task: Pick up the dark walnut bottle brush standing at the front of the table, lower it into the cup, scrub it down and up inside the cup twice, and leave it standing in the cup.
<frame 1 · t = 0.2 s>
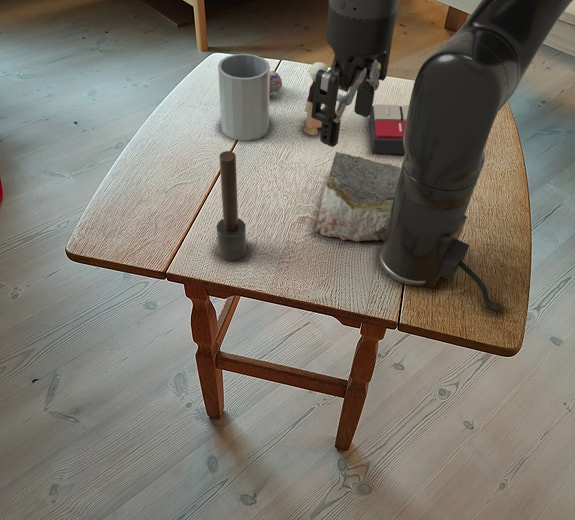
hand: (346, 128, 71), 17 cm above the table, tool pointing down, fingers open, 8 cm apart
cup: (245, 127, 101), on the table
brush: (232, 251, 79), on the table
black red box: (410, 139, 101), on the table
grandmother figurine: (314, 127, 102), on the table
geological specimen: (357, 210, 87), on the table
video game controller: (256, 96, 109), on the table
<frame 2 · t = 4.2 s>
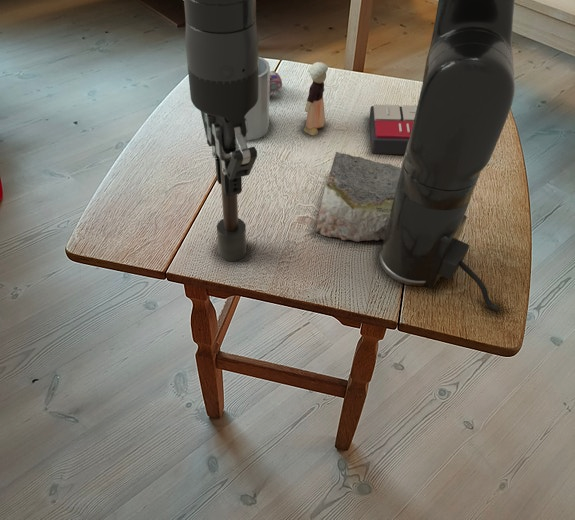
hand: (229, 186, 71), 12 cm above the table, tool pointing down, fingers closed on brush, 2 cm apart
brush: (232, 251, 79), on the table, touching gripper
everything else where it was.
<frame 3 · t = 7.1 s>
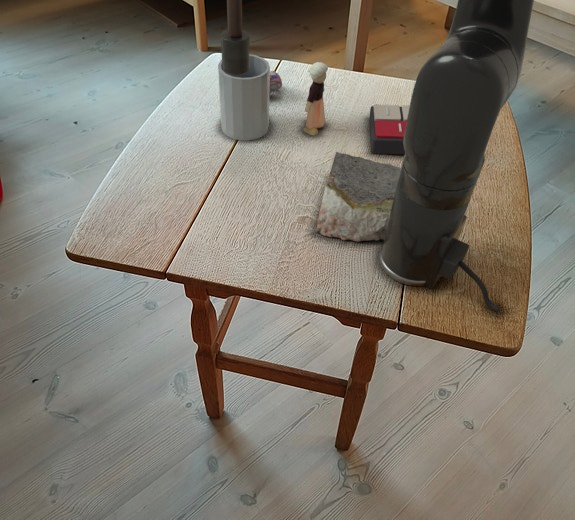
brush: (235, 67, 81), point 17 cm above the table, touching gripper
everything else where it was.
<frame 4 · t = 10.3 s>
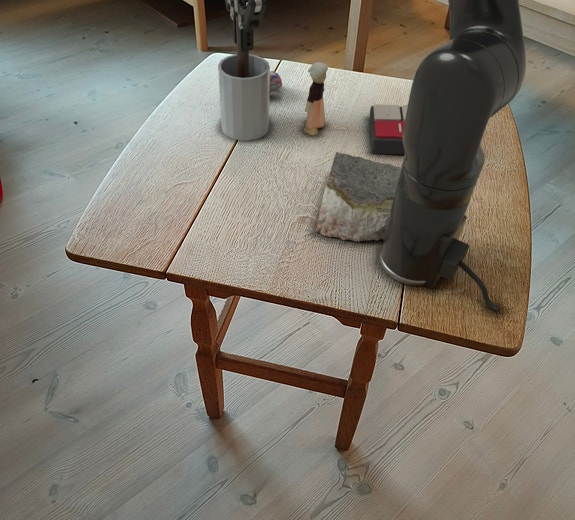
hand: (243, 45, 89), 16 cm above the table, tool pointing down, fingers closed on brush
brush: (244, 110, 98), point 3 cm above the table, touching gripper
everything else where it was.
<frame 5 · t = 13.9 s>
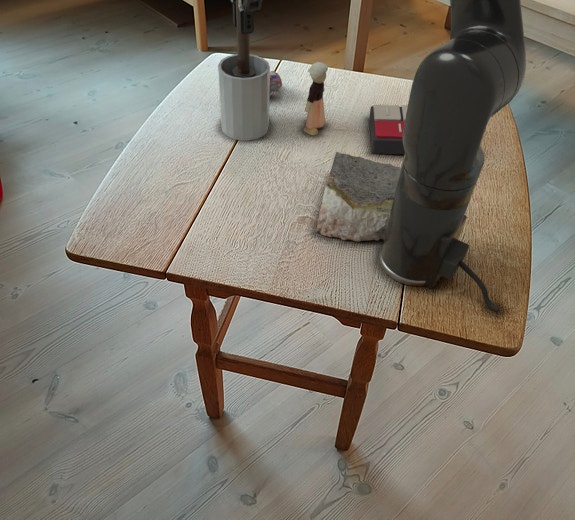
hand: (243, 29, 87), 18 cm above the table, tool pointing down, fingers closed on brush
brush: (244, 97, 96), point 6 cm above the table, touching gripper
everything else where it was.
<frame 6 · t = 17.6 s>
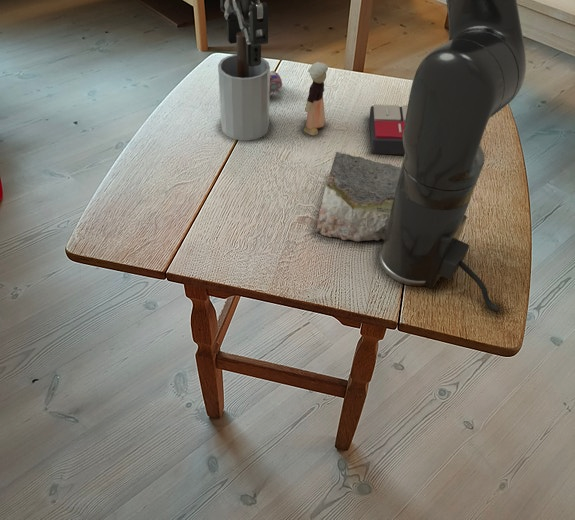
hand: (243, 53, 90), 14 cm above the table, tool pointing down, fingers open, 8 cm apart
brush: (244, 124, 100), resting on cup
everything else where it was.
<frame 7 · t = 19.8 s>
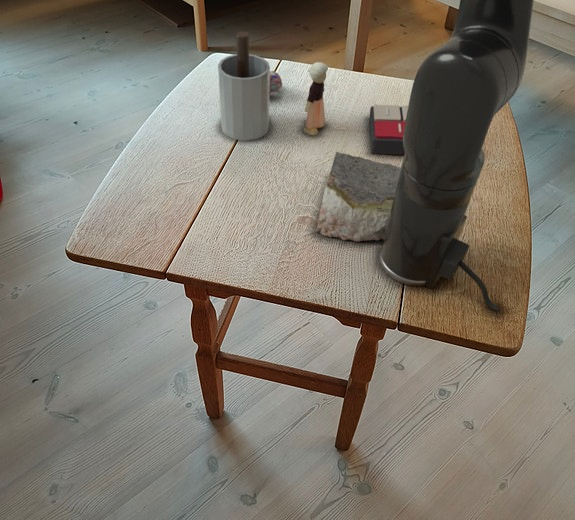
nothing on the table moved.
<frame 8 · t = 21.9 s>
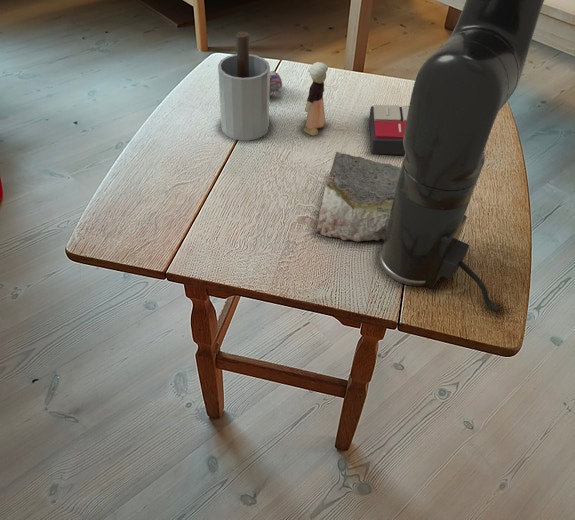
nothing on the table moved.
at the end: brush 0.1 cm off-centre in the cup, point 0.5 cm above the cup's base; the gripper is holding nothing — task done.
